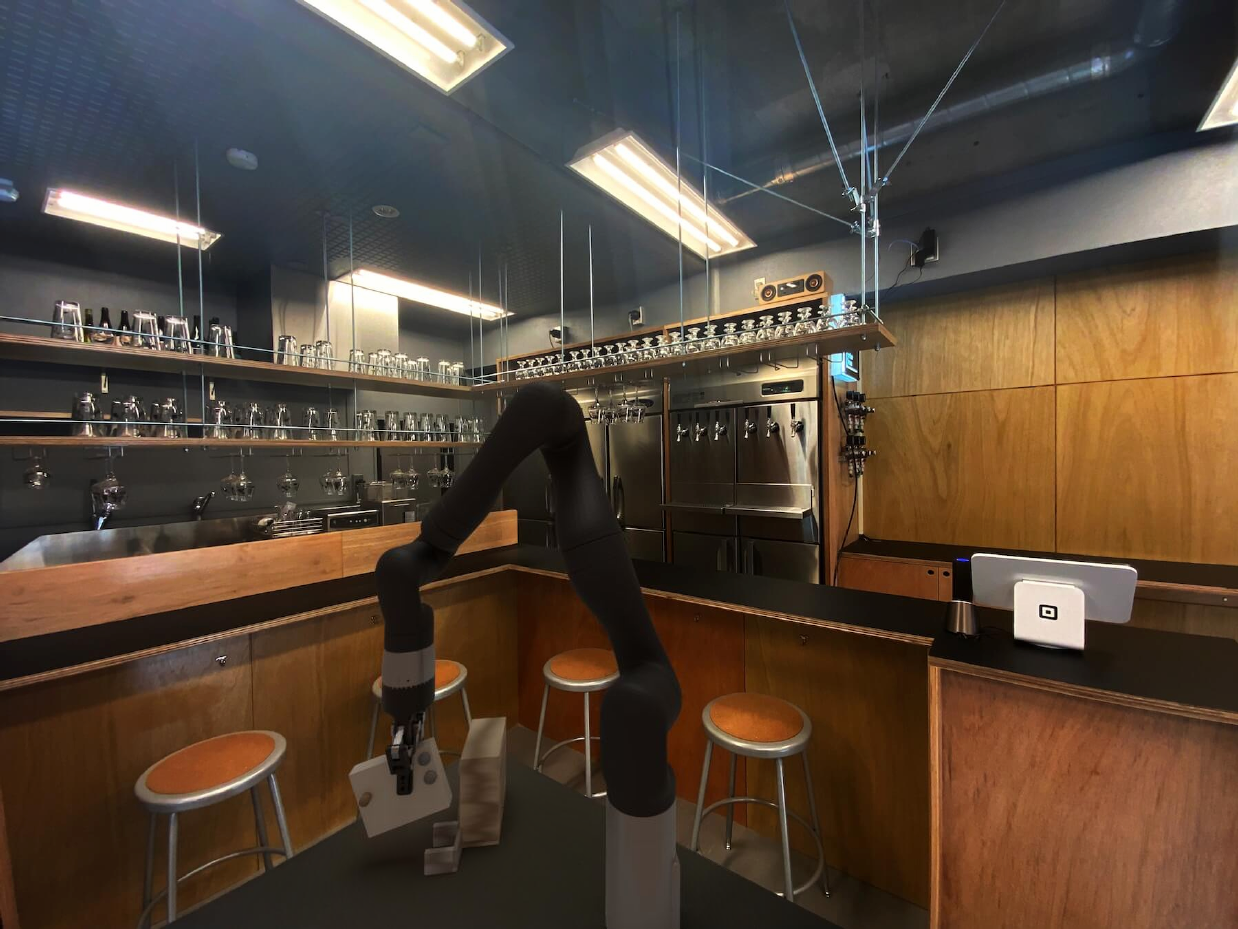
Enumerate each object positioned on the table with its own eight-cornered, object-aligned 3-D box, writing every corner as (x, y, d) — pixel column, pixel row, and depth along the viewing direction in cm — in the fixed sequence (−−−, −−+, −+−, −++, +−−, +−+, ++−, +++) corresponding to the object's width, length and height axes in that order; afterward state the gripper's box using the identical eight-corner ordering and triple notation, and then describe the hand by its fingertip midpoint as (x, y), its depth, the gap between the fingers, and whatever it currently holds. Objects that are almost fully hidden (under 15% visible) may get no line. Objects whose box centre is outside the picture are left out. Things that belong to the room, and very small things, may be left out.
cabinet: (505, 792, 87) (506, 717, 87) (495, 867, 71) (496, 774, 71) (448, 798, 86) (448, 721, 86) (424, 875, 69) (425, 780, 70)
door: (452, 796, 74) (433, 736, 74) (447, 813, 71) (427, 750, 70) (374, 826, 73) (355, 765, 72) (365, 844, 69) (345, 780, 69)
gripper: (422, 694, 66) (421, 818, 66) (444, 655, 80) (443, 757, 80) (365, 697, 65) (363, 823, 65) (397, 657, 79) (396, 761, 78)
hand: (407, 786), depth 72 cm, fingers closed on door, 2 cm apart
